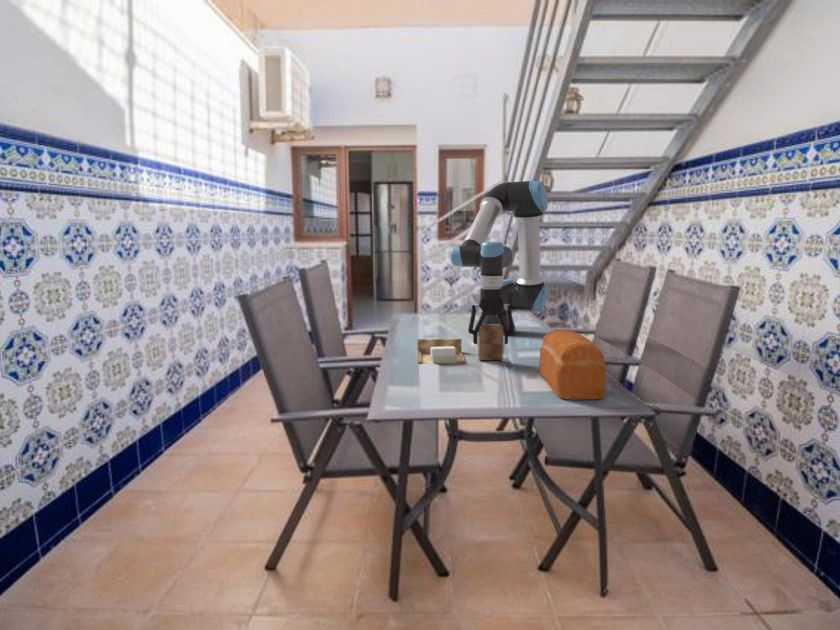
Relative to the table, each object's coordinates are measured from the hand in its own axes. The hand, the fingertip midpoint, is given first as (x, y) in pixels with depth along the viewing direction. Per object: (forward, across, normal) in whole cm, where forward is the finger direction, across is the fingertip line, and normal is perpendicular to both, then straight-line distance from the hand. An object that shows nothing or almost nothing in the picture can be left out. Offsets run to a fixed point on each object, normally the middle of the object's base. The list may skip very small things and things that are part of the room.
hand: (490, 353), depth 185 cm
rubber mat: (+3, 0, 0) cm, 3 cm away
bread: (+4, +20, -27) cm, 34 cm away
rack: (+3, -17, +4) cm, 18 cm away
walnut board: (+2, 0, 0) cm, 2 cm away
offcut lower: (+2, -16, -2) cm, 16 cm away
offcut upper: (0, -16, -2) cm, 17 cm away
